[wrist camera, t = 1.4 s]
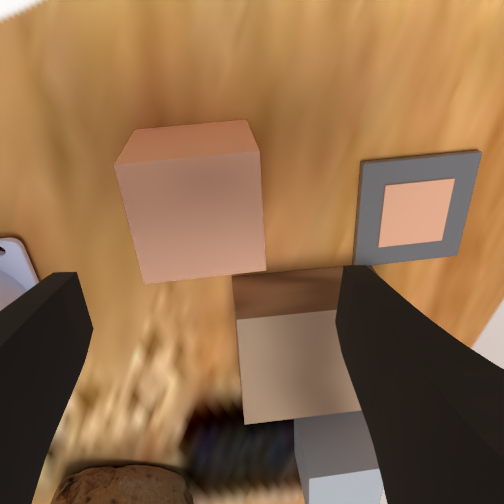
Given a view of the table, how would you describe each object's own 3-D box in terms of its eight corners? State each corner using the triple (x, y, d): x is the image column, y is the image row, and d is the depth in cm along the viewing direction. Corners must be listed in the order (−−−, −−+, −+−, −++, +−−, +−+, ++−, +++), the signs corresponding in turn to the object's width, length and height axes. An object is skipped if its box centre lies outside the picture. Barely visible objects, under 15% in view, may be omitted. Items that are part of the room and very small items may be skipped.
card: (352, 263, 23) (355, 268, 22) (360, 161, 19) (364, 164, 19) (453, 251, 23) (458, 256, 22) (477, 150, 20) (483, 152, 19)
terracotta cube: (156, 227, 20) (143, 284, 16) (135, 128, 18) (113, 164, 13) (252, 217, 20) (266, 270, 16) (246, 118, 18) (259, 150, 14)
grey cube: (294, 450, 31) (308, 518, 27) (293, 410, 29) (309, 478, 25) (355, 442, 32) (379, 508, 28) (360, 401, 29) (387, 467, 25)
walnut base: (239, 371, 27) (244, 424, 23) (231, 273, 22) (236, 319, 19) (355, 359, 27) (377, 408, 24) (368, 261, 23) (397, 303, 20)
